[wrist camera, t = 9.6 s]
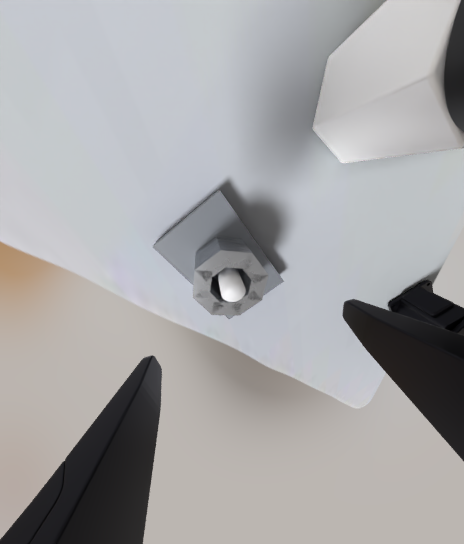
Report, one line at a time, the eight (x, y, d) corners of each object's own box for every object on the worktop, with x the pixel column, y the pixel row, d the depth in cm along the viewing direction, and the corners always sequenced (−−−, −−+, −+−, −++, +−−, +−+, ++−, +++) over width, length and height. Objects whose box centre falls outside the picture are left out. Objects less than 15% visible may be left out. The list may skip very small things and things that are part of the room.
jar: (376, 168, 18) (613, 150, 8) (303, 158, 17) (475, 120, 6) (423, 40, 15) (1018, -332, 4) (334, 14, 13) (904, -690, 3)
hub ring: (264, 269, 20) (278, 288, 16) (219, 301, 21) (223, 325, 17) (231, 224, 17) (239, 235, 14) (181, 263, 18) (177, 283, 14)
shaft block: (278, 275, 22) (306, 308, 17) (227, 311, 24) (236, 353, 18) (218, 189, 17) (228, 194, 11) (155, 242, 18) (136, 270, 12)
